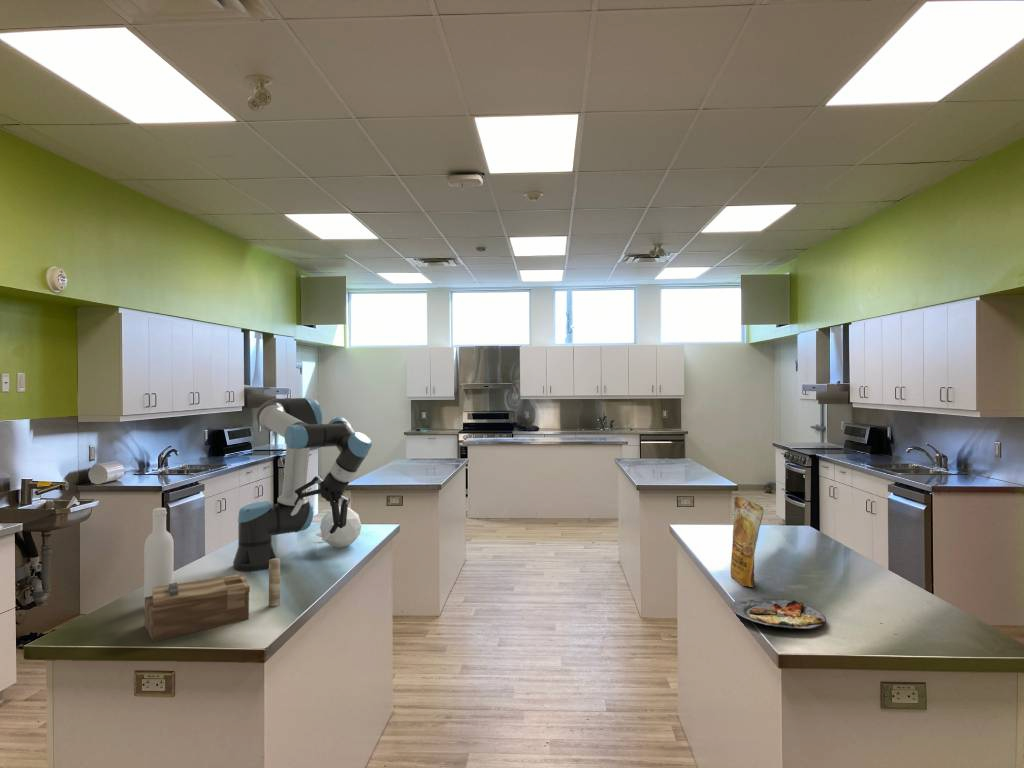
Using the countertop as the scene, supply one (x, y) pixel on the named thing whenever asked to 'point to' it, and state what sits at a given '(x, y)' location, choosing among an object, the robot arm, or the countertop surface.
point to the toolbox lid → (199, 590)
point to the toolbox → (194, 615)
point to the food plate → (790, 609)
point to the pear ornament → (341, 529)
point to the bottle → (158, 555)
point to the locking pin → (274, 582)
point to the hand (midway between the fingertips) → (309, 526)
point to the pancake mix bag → (745, 540)
